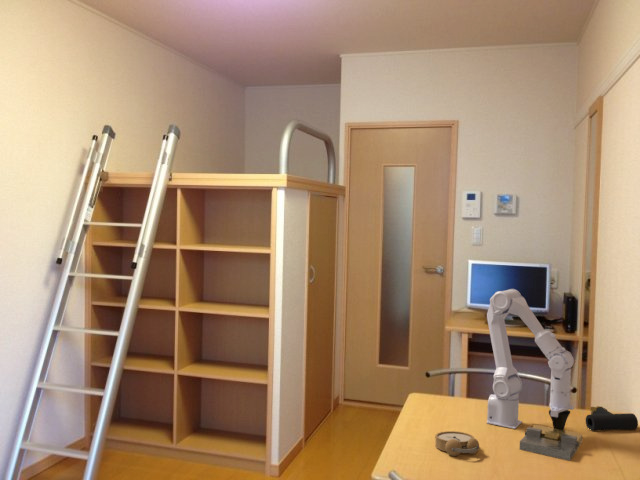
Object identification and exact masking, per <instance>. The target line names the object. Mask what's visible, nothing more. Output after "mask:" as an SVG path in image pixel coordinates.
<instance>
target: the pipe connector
mask: <svg viewBox="0 0 640 480" xmlns="http://www.w3.org/2000/svg"><path fill="white" fill-rule="evenodd" d="M589 409H590V410H589V411H590V414H587V415H586V416H585V424H586V428H587V429H588V428H589V429H588V430H590V429H591V430H592V431H593V432H594V431H595V430H600V431H627V430H636V429H637V428H638V426H639V422H638V418H637V416H636V414H634V413H612V412H610V411H608V409H607V408H605V407H603V406H600V405H599V406H598V405H597V406H590V408H589ZM591 430H590V431H591ZM595 432H596V431H595Z"/></svg>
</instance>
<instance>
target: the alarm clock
mask: <svg viewBox="0 0 640 480" xmlns="http://www.w3.org/2000/svg"><path fill="white" fill-rule="evenodd" d="M434 438H435V448H436V449H438V450H439V451H443V452H446V453H447V454H448V455H449V456H452V457H456V456H457V457H458V456H459V455H460V454H461V453H462V454H463V453H464V454H468V455H471V456H474V455H476V454H477V453H478V452H479V450H480V443H479V441H478V439H476V438H475V436H474V435H473V434H470V433H468V432H464V431H463V432H462V431H456V430H455V431H451V430H450V431H449V430H448V431H447V430H446V431H440V432H437V433H436V434H435V436H434Z"/></svg>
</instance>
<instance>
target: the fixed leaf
mask: <svg viewBox="0 0 640 480" xmlns="http://www.w3.org/2000/svg"><path fill="white" fill-rule="evenodd" d="M532 427H533V426H531V427H530V426H527V428H526V430H525V431H524V437H522V438H521V440H519V450H522V451H524V452H525V451H526V452H528V453H529V452H530V453H534V454H538V455H542V456H547V457H552V458H555V459H560V460H565V461H569V462H570V461H571V460H572V458H573V457H574V455H575V454H576V453H577V451H578V450H577V447H578V446H579V442H577V437H576V436H571V435H567V434H562V435H561V442H560V441H555V440H550V439H546V438H542V429H537V428H532Z"/></svg>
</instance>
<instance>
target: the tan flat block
mask: <svg viewBox="0 0 640 480" xmlns="http://www.w3.org/2000/svg"><path fill="white" fill-rule="evenodd" d="M531 427H532V428H537V429H542V438H546V439H550V440H555V441H560V442H561V435H562V434H567V435H571V436H576V437H577V442H579V446H578V447H577V451H578V450H579V448H580V446H581V445H582V444H583V433H578V432H574V431H569V430H565V429H564V430H560V429H555V428H554V427H549V426H545V425H539V424H534V425H533V426H531Z"/></svg>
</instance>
